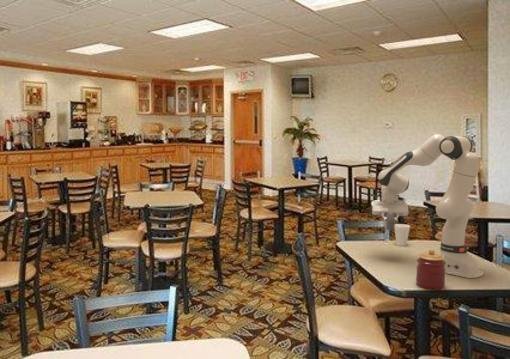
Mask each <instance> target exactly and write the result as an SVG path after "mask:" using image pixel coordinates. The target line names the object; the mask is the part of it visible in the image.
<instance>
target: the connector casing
mask: <svg viewBox="0 0 510 359" xmlns="http://www.w3.org/2000/svg"><path fill="white" fill-rule="evenodd" d="M385 217H386V221H385V230H386V231H395V224H396V223H395V222H396V221H395V217H396V216H395V214H394V213H393V209H388V213H386V215H385Z"/></svg>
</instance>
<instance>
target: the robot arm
mask: <svg viewBox="0 0 510 359" xmlns="http://www.w3.org/2000/svg"><path fill="white" fill-rule="evenodd" d="M473 147H474V144H473V141H472V140H471V139H470V138H469V137H467V136H465V135H448V136H444V135H443V134H440V133H437V134H434V135H432V136H430V137H429V138H428V139H426V140H424V142H423V143H422V144H420V146H419V147H417V148H416V149H414V150H411V151H407V152H406V153H404V154H402V155H401V156H400V157H399V158H397V159H395V161H394V162H392V163H391V164H390V165H388V166H387V167H385V168H383V169H382V170H380V172H378V175H377V180H378V183H379V185H381V186H380V187H381V188H380V189H381V200H377V199H376V200H372V201H371V205H370V206H371V208H372V209H371V214H372V215H374V216H375V215H376V216H381V217H382V219H383V222H386V213H388V209H393V213H394V214H395V222H398V218H399V217H407V216H408V215H409V206H408V203H407V202H406V198H405V197H402V196H399V195H400V194H402V193H404V192H406V191H407V190H408V189H409V185H410V181H409V178H408V177H406V176H405V175H403V174H400V173H398V172H399V171H401V170H402V169H403V168H405V167H407V166H420V167H427V166H430V165H432V164H433V163H434V162H435V161H436V160H438V159H439V157H441V155H444V156H446V157H447V158H448V159H450V160H452V161H455V165H454V168H453V172H452V176H451V179H450V182H449V185H448V187H447V189H446V191H445V192H444V194H443V196H442V198H441V200H440V201H439V202H437V204H436V206H435V212H436V215H437V216H438V217H439V218H441V219H444V220H445V223H444V225H443V227H442V231H441V242H440V247H439V248H440V254H441V256H443V257H444V259H443V260H444V261H445V262H446V264H445V270H446V271H445V274H449V275H452V276H453V275H454V276H458V277H463V278H465V279H466V278H467V279H476V278H480V277H482V276H484V271H482V270H480V267H479V263H478V261H477V260H476V259H475V258H474V257H473V256H472V255H470V253H469V252H468V250H469V249H470V247H469V246H466V245H465V240H466V239H465V238H466V236H465V235H466V229H467V225H468V222H469V219H470V215H471V213H473V211H474V203H473V201H472V200H471V199H470V198H468V196H469V195H470V193H471V192H472V191H473V189H474V186H475V182H476V179H477V175H478V173H479V172H478V171H479V168H480V167H479V166H480V157H479V156H478V155H477V154H476V153H474V152H472V150H473Z"/></svg>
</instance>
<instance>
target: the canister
mask: <svg viewBox="0 0 510 359" xmlns="http://www.w3.org/2000/svg"><path fill="white" fill-rule="evenodd" d="M443 259H444V257H443V256H441V253H439V252H435V250H434V249H432V248H431V249H429V250H428V251H423V252H421V253H420V254H418V258H417V259H416V262H417V265H416V276H415V277H416V278H415V284H416V285H417V286H418V287H421V288H424V289H427V290H443V289H444V288H445V286H446V280H445V279H446V273H445V271H446V270H445V264H446V262H445V261H444V260H443Z"/></svg>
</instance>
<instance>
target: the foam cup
mask: <svg viewBox="0 0 510 359" xmlns="http://www.w3.org/2000/svg"><path fill="white" fill-rule="evenodd" d="M410 229H411V226H410V225H409V224H404V223H394V234H395V235H394V236H395V243H396V244H397V245H396V246H399V247H406V246H407V244H408V239H409V233H410Z"/></svg>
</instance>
